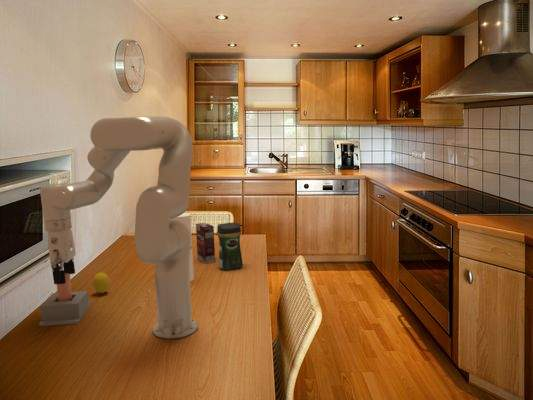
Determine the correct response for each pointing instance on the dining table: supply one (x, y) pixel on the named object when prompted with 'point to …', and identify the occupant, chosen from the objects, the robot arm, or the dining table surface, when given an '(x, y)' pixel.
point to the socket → (64, 309)
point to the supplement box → (205, 242)
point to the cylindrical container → (186, 220)
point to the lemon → (101, 282)
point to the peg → (65, 289)
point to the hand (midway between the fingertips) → (65, 278)
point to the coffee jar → (229, 246)
